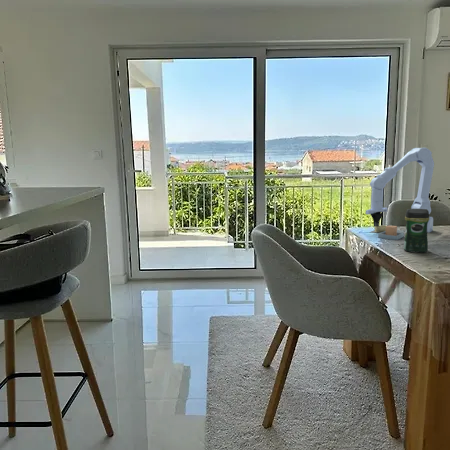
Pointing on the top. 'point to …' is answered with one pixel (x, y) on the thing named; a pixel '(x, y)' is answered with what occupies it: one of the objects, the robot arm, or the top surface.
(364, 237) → the top surface
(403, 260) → the top surface
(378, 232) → the plate
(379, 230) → the crank
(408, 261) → the top surface
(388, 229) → the block
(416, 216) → the coffee jar
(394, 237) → the tray
